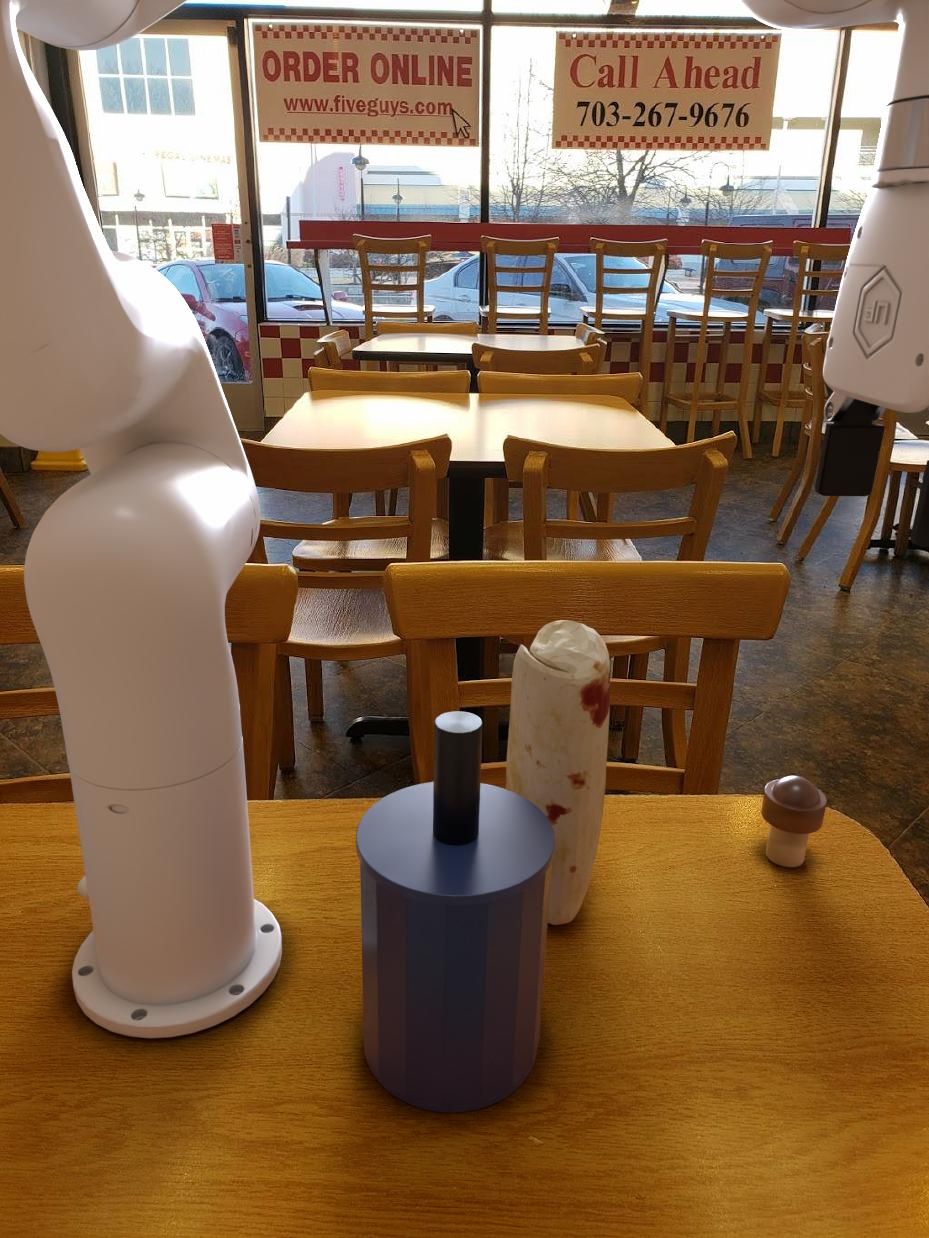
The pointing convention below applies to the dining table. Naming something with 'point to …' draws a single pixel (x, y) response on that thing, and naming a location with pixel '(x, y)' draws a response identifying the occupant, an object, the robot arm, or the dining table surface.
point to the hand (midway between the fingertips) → (888, 517)
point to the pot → (452, 994)
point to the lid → (455, 829)
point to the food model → (562, 749)
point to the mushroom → (791, 818)
